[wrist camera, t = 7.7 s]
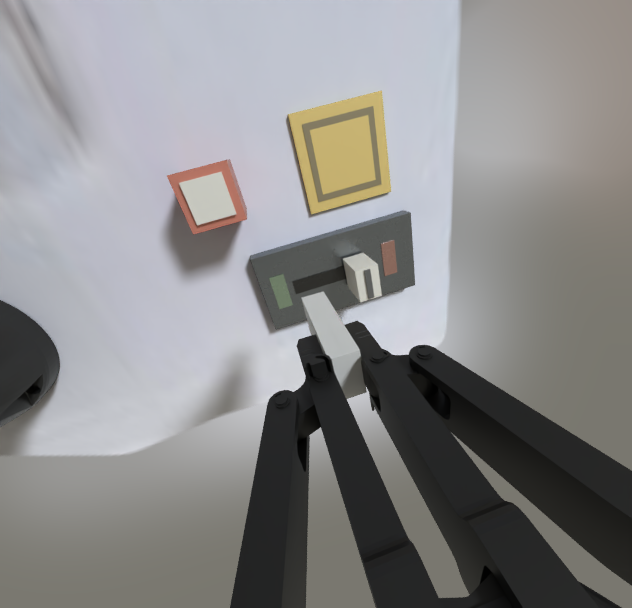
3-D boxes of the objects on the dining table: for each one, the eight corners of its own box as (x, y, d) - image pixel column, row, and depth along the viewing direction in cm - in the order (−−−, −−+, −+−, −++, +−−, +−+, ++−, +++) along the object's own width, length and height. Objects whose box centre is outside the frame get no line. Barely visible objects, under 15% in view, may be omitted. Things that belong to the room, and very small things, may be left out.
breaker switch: (348, 287, 33) (361, 303, 30) (342, 258, 31) (355, 271, 28) (367, 281, 33) (382, 296, 30) (363, 252, 32) (378, 264, 28)
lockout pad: (310, 213, 30) (311, 214, 30) (287, 114, 26) (288, 114, 26) (389, 191, 31) (391, 191, 31) (379, 91, 27) (382, 90, 26)
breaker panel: (274, 323, 35) (275, 329, 34) (250, 255, 31) (250, 260, 30) (408, 280, 37) (415, 285, 36) (403, 210, 33) (410, 212, 31)
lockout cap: (202, 220, 28) (192, 235, 23) (182, 172, 26) (165, 175, 21) (246, 208, 29) (247, 220, 23) (230, 159, 27) (226, 160, 21)
